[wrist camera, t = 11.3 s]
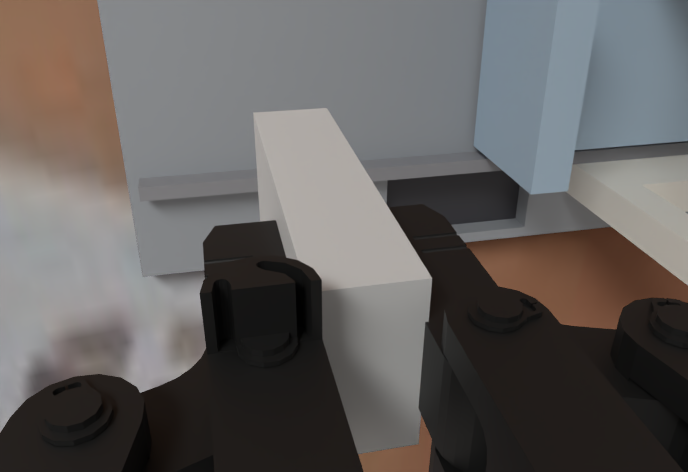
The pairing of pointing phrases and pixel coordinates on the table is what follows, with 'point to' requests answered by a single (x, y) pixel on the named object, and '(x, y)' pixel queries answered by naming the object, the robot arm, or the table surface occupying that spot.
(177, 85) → the track
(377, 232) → the robot arm
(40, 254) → the table surface
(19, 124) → the table surface
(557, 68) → the sled
